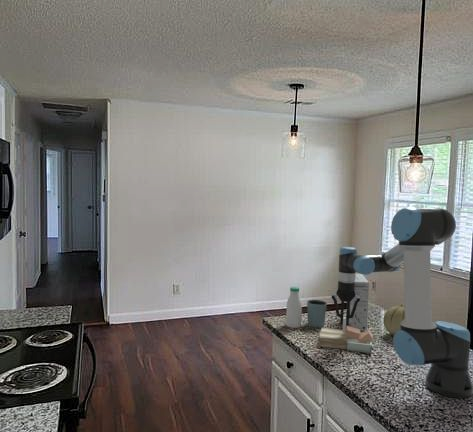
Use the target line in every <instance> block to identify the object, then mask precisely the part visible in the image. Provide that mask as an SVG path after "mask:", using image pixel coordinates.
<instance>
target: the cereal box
mask: <svg viewBox="0 0 473 432" xmlns="http://www.w3.org/2000/svg"><path fill="white" fill-rule="evenodd" d="M354 282H355V293H356V296H358V297H360V301H359V302H358V304H357V307H356V310H355V313H354V316H353V318H349V325H348V326H350V327H353V328H357V329H360V332H364V331H366V330H367V329H368V316H369V314H368V313H369V294H370V293H369V292H370V291H369V289H370V282H369V281H368V280H367V278H366V277H365V275H364V274H360V273H356V276H355V281H354ZM354 302H355V297H354V298H353V299H352V300H351V301H350V309H349V315H350V314H351V312H352V309H353V306H354Z"/></svg>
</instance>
